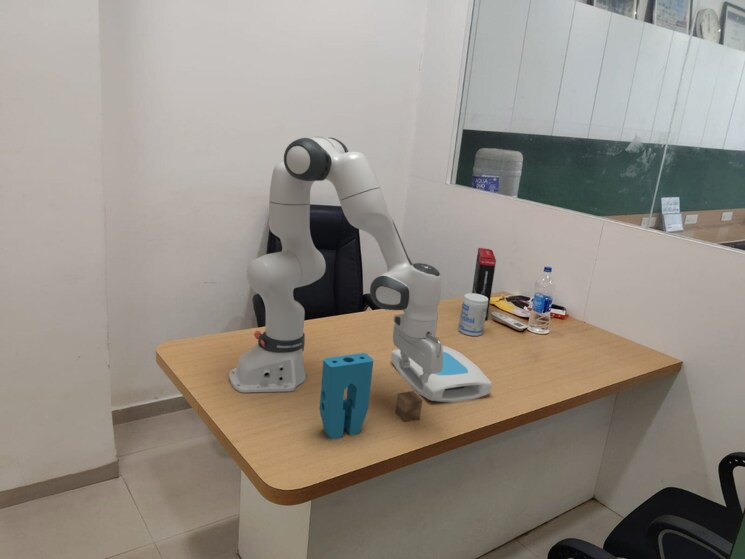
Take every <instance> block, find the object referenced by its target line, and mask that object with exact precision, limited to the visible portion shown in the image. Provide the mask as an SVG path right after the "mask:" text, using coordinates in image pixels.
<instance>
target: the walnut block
mask: <svg viewBox="0 0 745 559" xmlns="http://www.w3.org/2000/svg"><path fill="white" fill-rule="evenodd" d="M395 404H396V405H395V413H394V414H396V415H397V416H398V418H399V419H400V420H401V422H403V423H407V422H412V421H419V420H420V418H421V411H422V406H423V399H422V398H421V397H420V396H419V394H418V393H417V392H415V390H412V391H405V392H398V393H397V394H396V402H395Z"/></svg>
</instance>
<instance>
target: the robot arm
mask: <svg viewBox="0 0 745 559" xmlns="http://www.w3.org/2000/svg"><path fill="white" fill-rule="evenodd" d="M325 180H326V181H329V182H330V183H331V184H332V185H333V187H334V189H335V191H336V195H337V198H338V201H339V204H340V206H341V209H342V212H343V214H344V216H345V218H346V220H347V221H348V223H349V224H350V225H351V226H353V227H354V228H355V229H358V230H361V231H363V232H366V233H368V234H369V235H370V236H372V237H373V238H374V239H375V241H376V242H377V245H378V247H379V249H380V252H381V254H382V256H383V259H384V261H385V264H386V268H387V269H386V271H384V272H383V273H382V274H380V275H378V276H377V277H375V278H374V279H372V281H371V284H370V286H369V287H370V288H369V294H370V298H371V300H372V301H373V303H374V305H376V306H377V307H378V308H380V309H383V310H385V311H403V313H401V314H395V315H393V323H394V324H393V332H392V342H393V345H394V347H396V348H397V349H400V350H401V351H400V354H401V358H402V366H403V367H404V368H409V367H410V361H409V358H411V359H412V360H413V361H414V362H416V363H417V364H418V365H419V366H421V367H422V368H423V370H422V371H423V374H422V375H420V379H419V380H420V381H421V382H422V383H423V384H424V383H427V382H428V378H429V376H430V375H431V374H435V373H440V372H441V371H442V369H443V347H442V346H443V345H442V343H441V342H440V339H439V338H438V337H436V335H437V327H438V322H439V320H438V318H439V313H438V308H439V305H440V302H441V294H442V279H441V278H442V277H441V273H440V271H439V270H438V269H437V268H436V267H434V266H432V265H430V264H426V263H421V262H415V263H413V262H412V261H411V259H410V258H409V255H408V254H407V251H406V248H405V246H404V243H403V241H402V239H401V236H400V234H399V231H398V229H397V226H396V224H395V222H394V220H393V218H392V216H391V215H392V214H390V212H389V209H388V206H387V204H386V202H385V198H384V196H383V195H384V194H383V192H382V189H381V185H380V183H379V181H378V178H377V175H376V173H375V171H374V169H373V167H372V165H371V163H370V161H369V160H368V158H367V156H366V155H365V154H364V153H362V152H360V151H349V150H348V147H347V146H346V144H344V143H343V142H342V141H340V140H339V139H336V138H334V137H326V136H313V137H312V136H311V137H301V138H298V139H296V140H292V142H291V143H290V144H288V145H287V147H286V148H285V151H284V153H283V161H280V162H278V163H276V165H275V166H274V168H273V170H272V175H271V181H270V186H269V201H268V228H269V231H270V232H271V233H272V234H273V235H274V236H276V237H277V238H279V240H280V243H281V251H277V252H272V253H266V254H264V255H261V256H259V257H257V258H255V259H253V260H251V261H250V262H249V263H248V266H247V269H246V280H247V283H248V286H250V288H251V289H252V290H253V291H254V292H255V293H257V294H258V295H259V296H260V297H261V298H262V301H263V304H264V307H265V308H264V309H265V330H264V332H263V333H261V331H260V330H256V331H254V333H253V335H254V338H255V339H256V340H257V344H256V345H254V346H253V347H251V348H250V349H249V350H247V351H246V352H244V353H243V354H242V355H241V356H240V357H239V359H238V363H237V366H236V367H234V368H231V369H230V371H229V375H228V379H229V380H228V381H229V383H230V385H231V386H232V388H233V389H234V390H236V391H238V392H240V393H246V394H247V393H274V392H275V393H276V392H277V393H278V392H279V393H280V392H281V393H282V392H293V391H295V390H296V388H297V387H298V386H300V385H301V384H303V383H304V382H305V381H306V379H307V375H306V370H305V365H304V364H305V363H304V351H305V344H306V343H305V341H306V339H305V336H306V335H305V332H304V331H305V330H304V328H305V313H306V312H305V308H304V307H303V306H302V304H301V303H300V302H299V301H297V300H295V298H294V289H296V288H301V287H305V286H309V285H311V284H313V283H315V282H316V281H318V280H320V279H321V278H322V277H323V276H324V274H325V273H326V267H327V266H326V260H325V258H324V255H323V253H321V251H319V250H318V249H317V248H316V246H315V244H314V242H313V238H312V235H311V229H310V228H311V227H310V222H311V221H310V220H311V219H310V216H311V215H310V213H311V212H310V211H311V210H310V209H311V188H312V186H313V184H314V183H315V182H317V181H318V182H320V181H321V182H322V181H325Z"/></svg>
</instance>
